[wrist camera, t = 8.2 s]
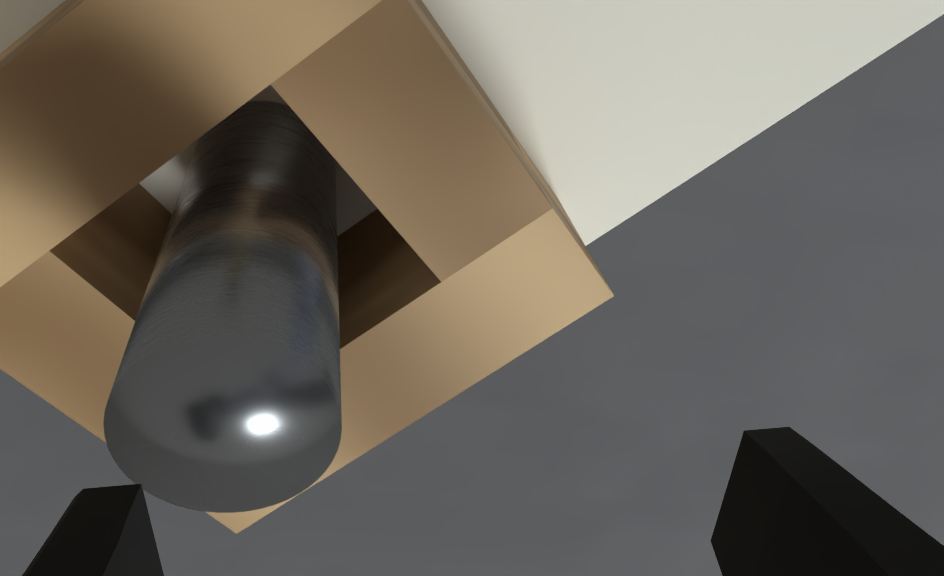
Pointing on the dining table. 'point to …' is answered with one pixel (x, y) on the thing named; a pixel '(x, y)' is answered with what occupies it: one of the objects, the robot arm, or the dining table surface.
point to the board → (621, 85)
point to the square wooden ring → (345, 137)
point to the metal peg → (238, 326)
